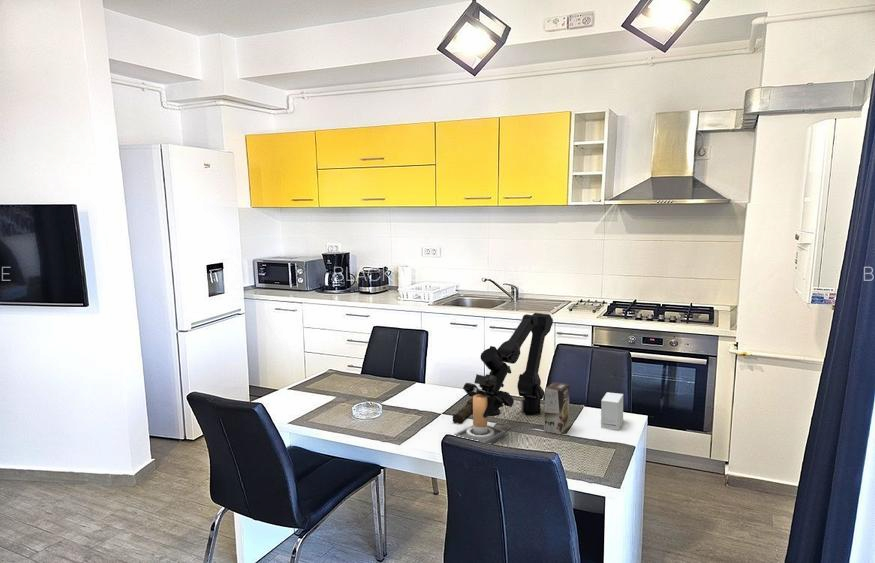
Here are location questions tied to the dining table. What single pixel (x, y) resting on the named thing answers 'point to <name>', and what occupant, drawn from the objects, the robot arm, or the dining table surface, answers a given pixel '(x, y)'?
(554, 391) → the coffee box
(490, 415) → the webcam
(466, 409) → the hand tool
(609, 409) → the skincare box
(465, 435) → the housing
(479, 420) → the peach bulb knob
